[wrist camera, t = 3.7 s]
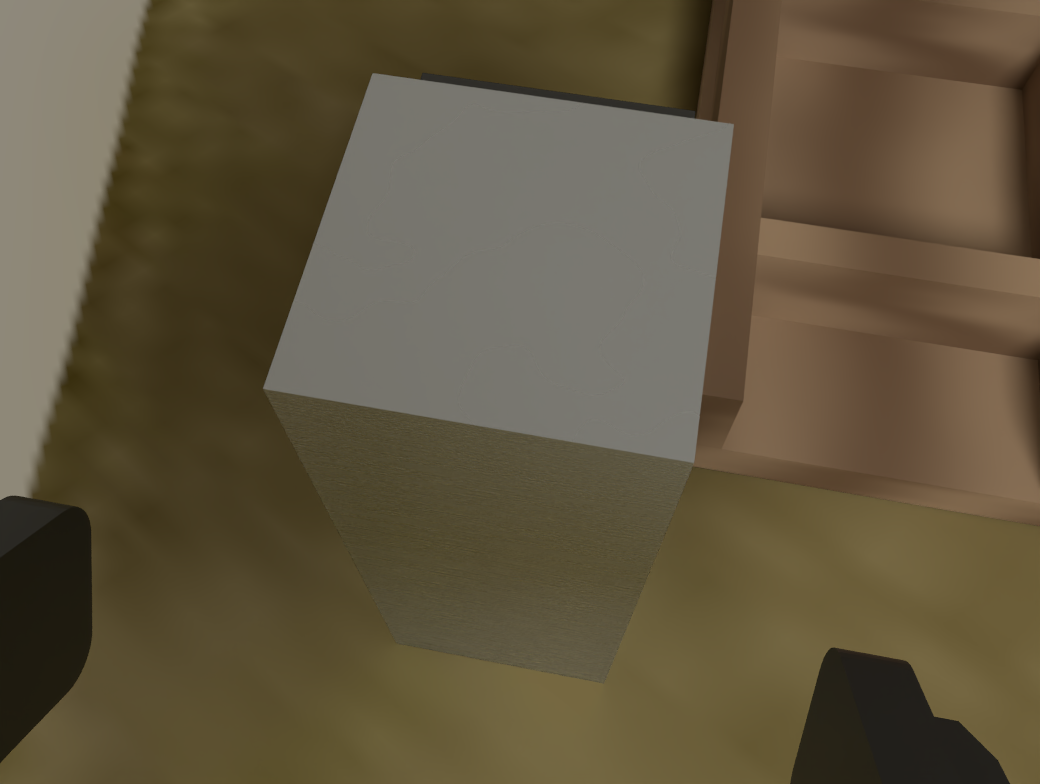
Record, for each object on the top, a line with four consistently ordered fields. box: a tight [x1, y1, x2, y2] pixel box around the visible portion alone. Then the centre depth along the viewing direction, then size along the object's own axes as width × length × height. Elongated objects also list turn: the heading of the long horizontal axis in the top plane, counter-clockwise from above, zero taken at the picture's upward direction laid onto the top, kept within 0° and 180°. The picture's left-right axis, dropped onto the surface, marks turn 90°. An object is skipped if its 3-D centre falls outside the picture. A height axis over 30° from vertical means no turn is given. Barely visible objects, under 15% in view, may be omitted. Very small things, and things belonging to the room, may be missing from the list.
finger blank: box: [263, 73, 734, 683], centre depth 16 cm, size 4×5×12 cm
